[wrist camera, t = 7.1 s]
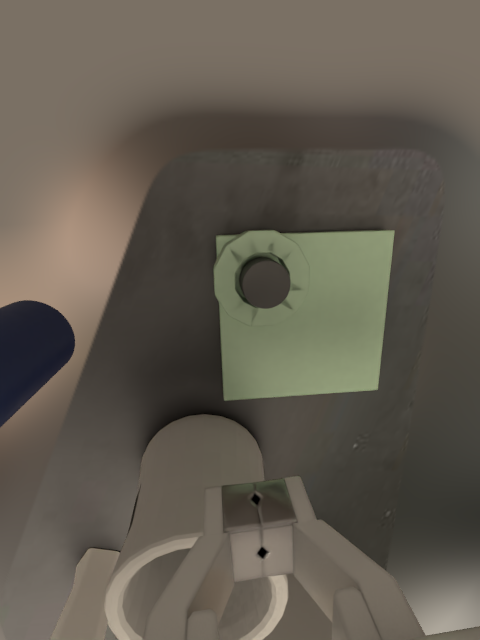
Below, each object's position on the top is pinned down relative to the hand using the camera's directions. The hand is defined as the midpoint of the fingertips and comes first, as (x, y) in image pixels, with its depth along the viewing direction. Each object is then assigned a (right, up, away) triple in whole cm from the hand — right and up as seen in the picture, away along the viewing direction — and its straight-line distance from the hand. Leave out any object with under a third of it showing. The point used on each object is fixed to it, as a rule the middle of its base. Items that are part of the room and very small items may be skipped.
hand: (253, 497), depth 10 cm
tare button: (+1, +8, +9) cm, 12 cm away
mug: (-3, -7, +16) cm, 17 cm away
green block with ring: (+4, +6, +12) cm, 14 cm away
